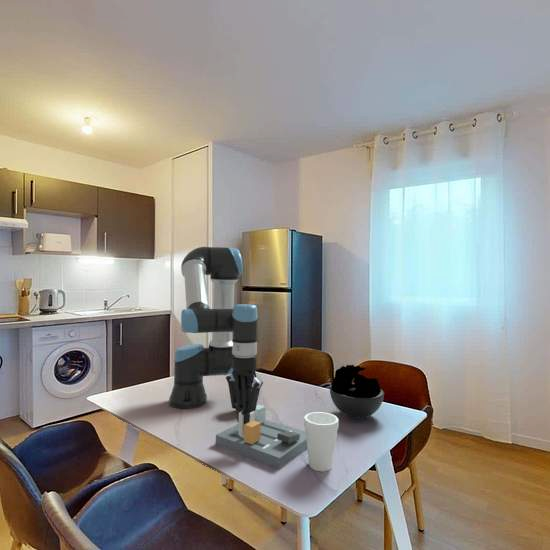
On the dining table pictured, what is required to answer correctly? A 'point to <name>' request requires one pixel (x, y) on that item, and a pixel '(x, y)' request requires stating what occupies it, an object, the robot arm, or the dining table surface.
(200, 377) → the robot arm
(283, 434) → the block
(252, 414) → the slider cream
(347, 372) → the bowl of black rocks
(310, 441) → the foam cup
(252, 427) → the slider orange
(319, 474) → the dining table surface
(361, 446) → the dining table surface
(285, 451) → the panel
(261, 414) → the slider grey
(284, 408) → the dining table surface
